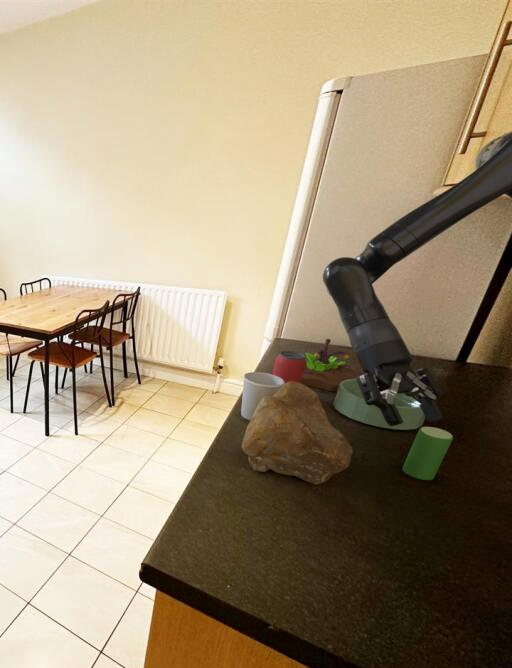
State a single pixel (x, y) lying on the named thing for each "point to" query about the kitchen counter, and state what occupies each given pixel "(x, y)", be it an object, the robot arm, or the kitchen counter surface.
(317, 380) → the plant
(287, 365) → the beer can
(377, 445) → the kitchen counter surface
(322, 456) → the rough brown rock
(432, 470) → the green cylinder
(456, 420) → the kitchen counter surface
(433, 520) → the kitchen counter surface
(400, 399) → the bowl
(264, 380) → the dixie cup
